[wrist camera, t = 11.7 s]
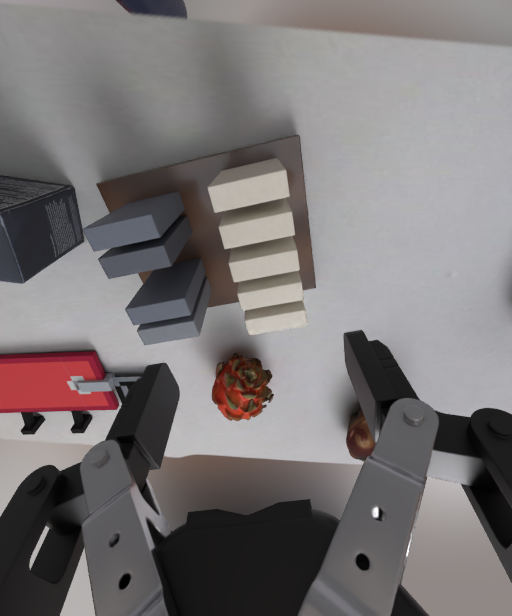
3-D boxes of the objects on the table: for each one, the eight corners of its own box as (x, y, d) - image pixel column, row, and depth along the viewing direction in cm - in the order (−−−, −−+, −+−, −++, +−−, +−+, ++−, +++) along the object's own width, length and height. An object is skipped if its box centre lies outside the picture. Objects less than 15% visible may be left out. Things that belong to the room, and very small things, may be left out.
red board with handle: (170, 416, 48) (147, 347, 41) (165, 430, 46) (140, 360, 38) (1, 420, 50) (-52, 354, 42) (-13, 435, 47) (-71, 368, 39)
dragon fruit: (246, 328, 41) (249, 378, 49) (193, 356, 37) (205, 405, 45) (285, 367, 36) (281, 415, 43) (227, 404, 32) (234, 450, 40)
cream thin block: (235, 229, 30) (228, 263, 23) (286, 218, 30) (297, 249, 22) (239, 245, 31) (233, 282, 23) (288, 235, 30) (299, 270, 23)
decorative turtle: (417, 384, 45) (447, 432, 38) (376, 435, 54) (394, 481, 47) (360, 378, 43) (381, 427, 37) (327, 432, 52) (339, 479, 46)
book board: (102, 181, 29) (95, 183, 28) (297, 134, 27) (299, 134, 26) (161, 310, 37) (158, 316, 36) (313, 282, 35) (315, 288, 34)
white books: (220, 171, 27) (207, 187, 20) (277, 157, 27) (286, 169, 19) (250, 289, 34) (248, 335, 26) (295, 281, 33) (307, 326, 26)
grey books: (127, 202, 29) (81, 229, 21) (179, 191, 28) (150, 213, 20) (168, 298, 35) (144, 345, 27) (212, 290, 34) (199, 336, 26)
